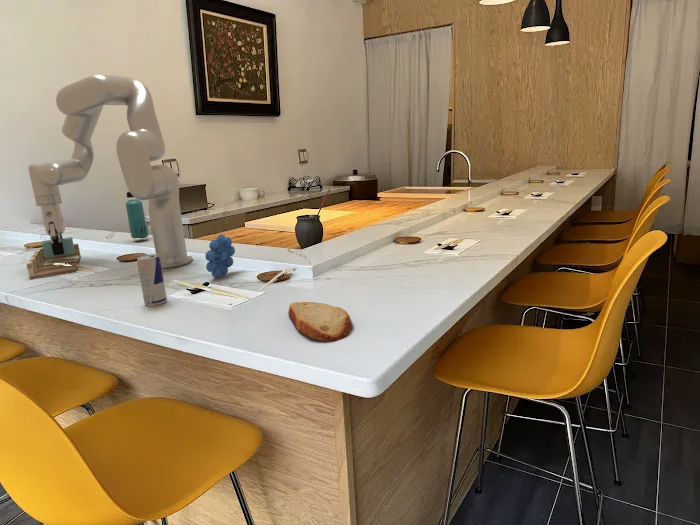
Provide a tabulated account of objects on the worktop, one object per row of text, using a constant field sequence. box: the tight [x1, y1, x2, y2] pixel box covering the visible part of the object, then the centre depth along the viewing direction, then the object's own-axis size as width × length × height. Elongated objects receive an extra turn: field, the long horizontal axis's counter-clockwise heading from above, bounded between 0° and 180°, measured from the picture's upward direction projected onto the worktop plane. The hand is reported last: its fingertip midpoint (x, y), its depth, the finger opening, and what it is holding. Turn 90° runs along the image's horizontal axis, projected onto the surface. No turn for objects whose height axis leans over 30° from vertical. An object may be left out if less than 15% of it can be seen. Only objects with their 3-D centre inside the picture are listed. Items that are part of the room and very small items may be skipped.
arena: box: [26, 243, 82, 280], centre depth 174 cm, size 24×13×5 cm, turn 24°
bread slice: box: [287, 301, 353, 343], centre depth 109 cm, size 18×18×4 cm
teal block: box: [41, 236, 75, 258], centre depth 177 cm, size 9×4×5 cm, turn 117°
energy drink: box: [136, 253, 168, 306], centre depth 129 cm, size 5×5×12 cm
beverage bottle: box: [124, 191, 149, 239], centre depth 206 cm, size 6×7×20 cm
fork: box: [259, 267, 295, 291], centre depth 144 cm, size 3×20×2 cm, turn 161°
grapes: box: [205, 234, 236, 279], centre depth 149 cm, size 12×7×12 cm, turn 152°
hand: (59, 252), depth 178 cm, fingers closed on teal block, 4 cm apart
